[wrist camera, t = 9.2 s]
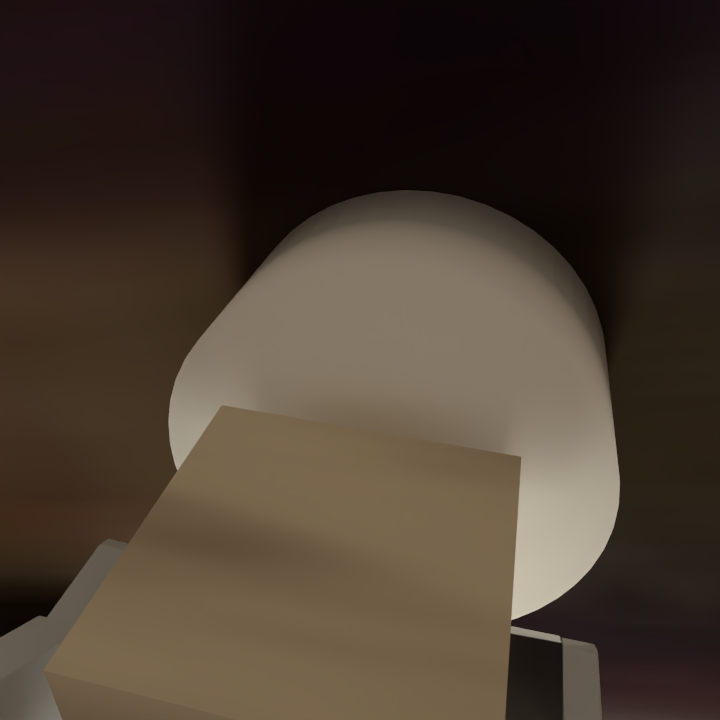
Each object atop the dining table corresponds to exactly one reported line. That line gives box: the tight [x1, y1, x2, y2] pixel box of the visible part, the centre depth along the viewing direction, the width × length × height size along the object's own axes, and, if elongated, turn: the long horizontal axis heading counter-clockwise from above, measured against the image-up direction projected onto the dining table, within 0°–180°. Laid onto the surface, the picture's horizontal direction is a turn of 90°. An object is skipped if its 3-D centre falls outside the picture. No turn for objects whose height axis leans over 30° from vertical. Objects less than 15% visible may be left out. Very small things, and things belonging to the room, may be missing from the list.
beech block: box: [43, 405, 521, 720], centre depth 11 cm, size 5×5×5 cm
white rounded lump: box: [168, 190, 620, 620], centre depth 16 cm, size 9×9×4 cm
